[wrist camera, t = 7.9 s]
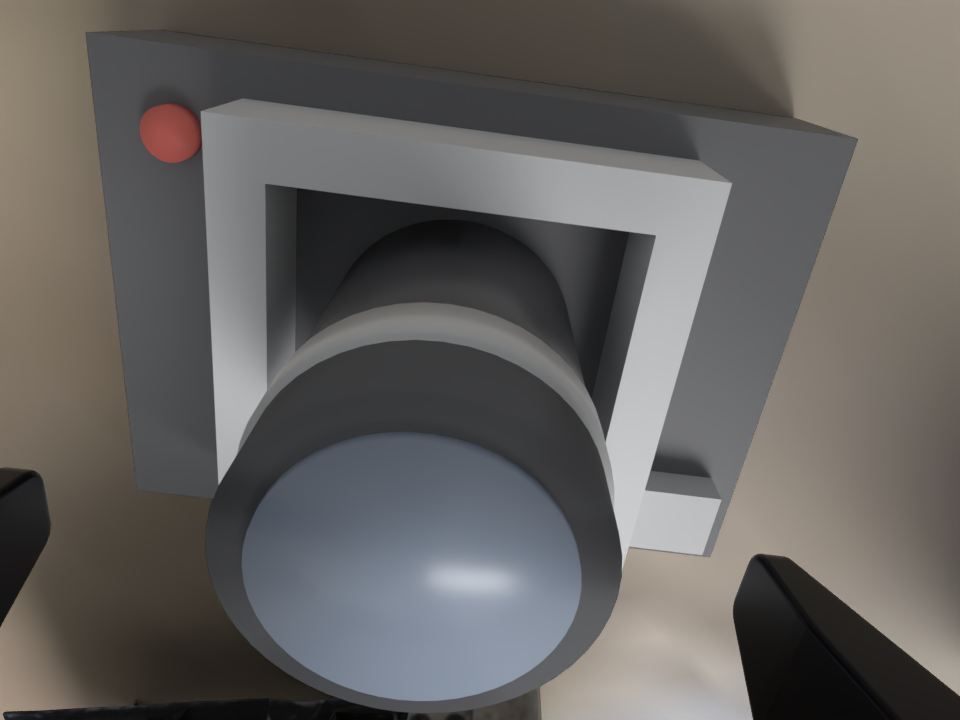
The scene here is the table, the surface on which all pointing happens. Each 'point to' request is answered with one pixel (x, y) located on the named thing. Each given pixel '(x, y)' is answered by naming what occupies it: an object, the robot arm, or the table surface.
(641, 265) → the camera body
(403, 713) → the vintage camera
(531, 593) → the lens
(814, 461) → the table surface
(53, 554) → the table surface
